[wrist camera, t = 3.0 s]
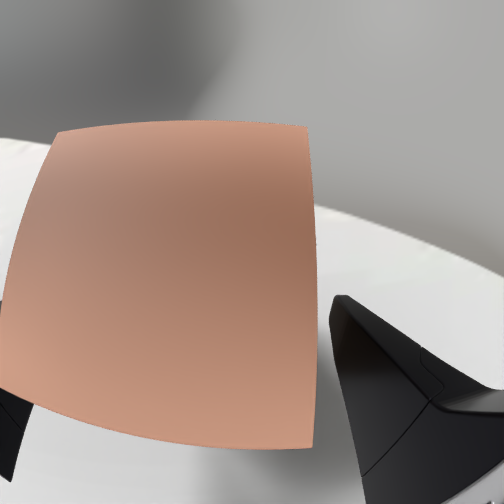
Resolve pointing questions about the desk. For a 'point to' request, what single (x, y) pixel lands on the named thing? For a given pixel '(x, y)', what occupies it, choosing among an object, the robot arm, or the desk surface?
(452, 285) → the desk surface
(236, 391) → the wooden block
